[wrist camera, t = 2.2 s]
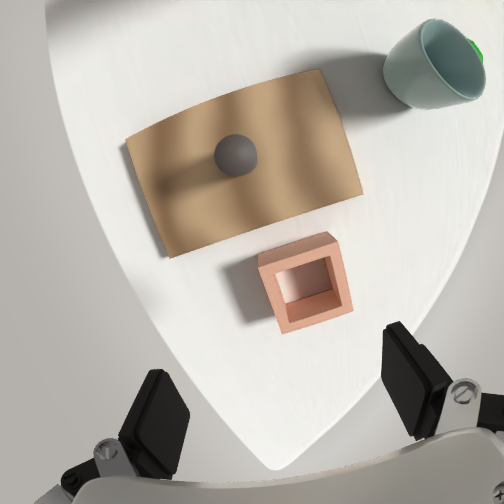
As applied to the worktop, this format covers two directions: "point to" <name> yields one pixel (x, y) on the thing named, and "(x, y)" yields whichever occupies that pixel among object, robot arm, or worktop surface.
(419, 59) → the cup
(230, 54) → the worktop surface
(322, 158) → the post board
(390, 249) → the worktop surface
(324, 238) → the collar
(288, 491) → the robot arm
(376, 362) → the worktop surface
